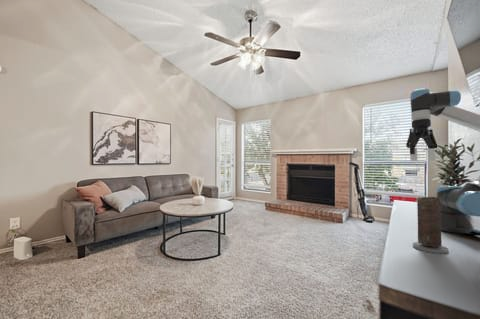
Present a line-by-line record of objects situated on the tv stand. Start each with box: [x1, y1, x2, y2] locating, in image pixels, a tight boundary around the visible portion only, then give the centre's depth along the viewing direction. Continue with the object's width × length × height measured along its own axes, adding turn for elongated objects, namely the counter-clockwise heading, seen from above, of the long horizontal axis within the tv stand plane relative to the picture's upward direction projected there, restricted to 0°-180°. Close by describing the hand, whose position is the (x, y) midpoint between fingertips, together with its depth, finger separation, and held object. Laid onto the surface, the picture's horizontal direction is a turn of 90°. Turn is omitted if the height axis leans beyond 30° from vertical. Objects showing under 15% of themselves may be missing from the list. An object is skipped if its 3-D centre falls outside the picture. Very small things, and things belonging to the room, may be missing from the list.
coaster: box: [412, 241, 449, 255], centre depth 89 cm, size 11×11×1 cm
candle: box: [416, 196, 443, 247], centre depth 90 cm, size 8×7×20 cm
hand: (422, 161), depth 112 cm, fingers open, 13 cm apart
